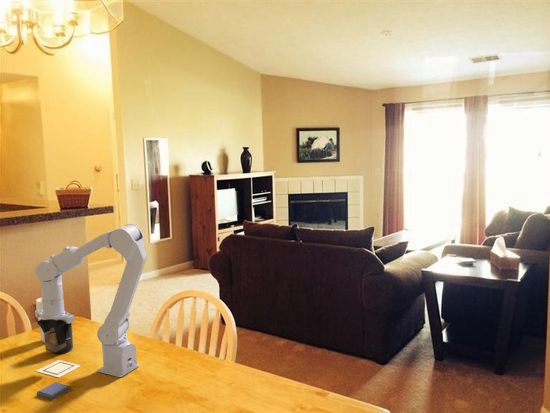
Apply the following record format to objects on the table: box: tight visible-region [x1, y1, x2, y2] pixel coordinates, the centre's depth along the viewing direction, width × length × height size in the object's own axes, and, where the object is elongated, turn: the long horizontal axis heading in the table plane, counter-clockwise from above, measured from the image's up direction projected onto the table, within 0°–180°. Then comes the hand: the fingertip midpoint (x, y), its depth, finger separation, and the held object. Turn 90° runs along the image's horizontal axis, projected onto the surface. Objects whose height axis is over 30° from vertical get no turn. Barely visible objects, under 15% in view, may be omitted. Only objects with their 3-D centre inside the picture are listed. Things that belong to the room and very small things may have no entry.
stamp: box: [44, 328, 66, 353], centre depth 139 cm, size 4×4×6 cm
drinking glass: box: [35, 297, 45, 344], centre depth 162 cm, size 7×7×15 cm
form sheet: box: [35, 359, 82, 379], centre depth 141 cm, size 10×8×1 cm
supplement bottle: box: [51, 320, 74, 355], centre depth 154 cm, size 7×7×12 cm
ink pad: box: [36, 381, 72, 401], centre depth 127 cm, size 6×6×1 cm
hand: (56, 342), depth 140 cm, fingers closed on stamp, 4 cm apart
